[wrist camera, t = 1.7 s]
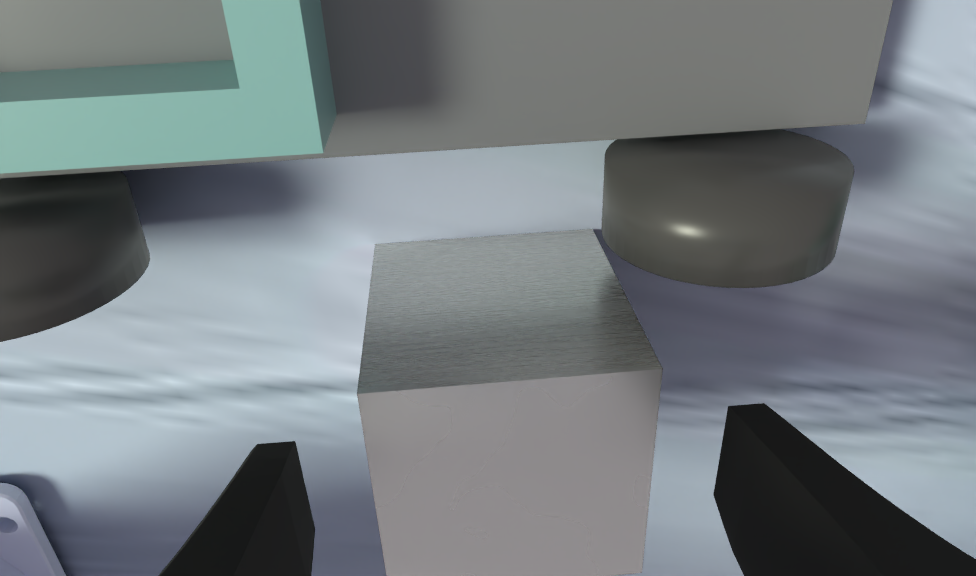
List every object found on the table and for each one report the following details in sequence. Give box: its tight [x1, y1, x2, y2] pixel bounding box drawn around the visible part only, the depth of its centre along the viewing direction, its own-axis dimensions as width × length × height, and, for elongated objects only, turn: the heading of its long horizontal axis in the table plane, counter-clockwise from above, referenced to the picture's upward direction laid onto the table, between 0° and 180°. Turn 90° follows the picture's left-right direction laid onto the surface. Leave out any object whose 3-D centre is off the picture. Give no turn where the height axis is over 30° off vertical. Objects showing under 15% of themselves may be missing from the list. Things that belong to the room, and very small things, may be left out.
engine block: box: [357, 229, 663, 576], centre depth 14 cm, size 4×4×5 cm
